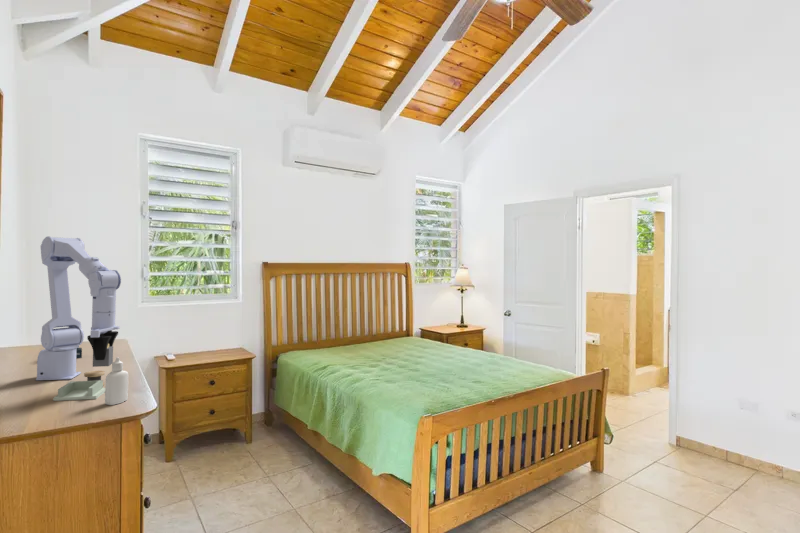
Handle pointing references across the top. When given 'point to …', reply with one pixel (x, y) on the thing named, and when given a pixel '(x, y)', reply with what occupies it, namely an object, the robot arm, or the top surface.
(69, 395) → the notched board
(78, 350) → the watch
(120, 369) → the eye dropper bottle
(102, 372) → the spool
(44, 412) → the top surface
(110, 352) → the plug
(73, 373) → the robot arm
